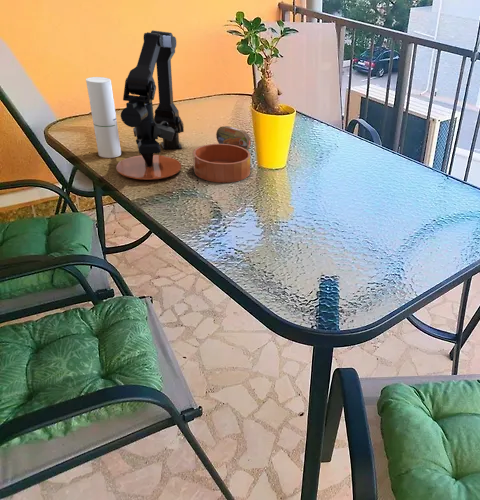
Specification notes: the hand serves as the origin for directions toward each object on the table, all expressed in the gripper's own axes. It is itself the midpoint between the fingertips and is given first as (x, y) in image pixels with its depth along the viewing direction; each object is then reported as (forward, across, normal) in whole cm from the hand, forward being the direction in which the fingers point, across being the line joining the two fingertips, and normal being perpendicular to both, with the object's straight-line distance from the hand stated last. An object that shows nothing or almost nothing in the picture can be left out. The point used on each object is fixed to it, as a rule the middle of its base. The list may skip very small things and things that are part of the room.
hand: (149, 164), depth 153 cm
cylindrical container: (+2, +17, +11) cm, 20 cm away
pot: (+2, -4, -23) cm, 23 cm away
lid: (+1, 0, 0) cm, 1 cm away
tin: (+3, +16, -32) cm, 36 cm away
